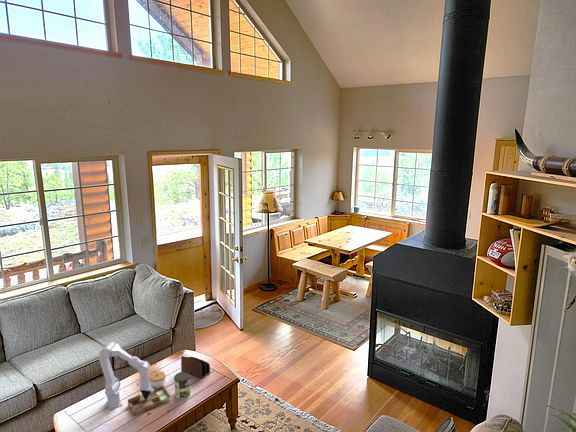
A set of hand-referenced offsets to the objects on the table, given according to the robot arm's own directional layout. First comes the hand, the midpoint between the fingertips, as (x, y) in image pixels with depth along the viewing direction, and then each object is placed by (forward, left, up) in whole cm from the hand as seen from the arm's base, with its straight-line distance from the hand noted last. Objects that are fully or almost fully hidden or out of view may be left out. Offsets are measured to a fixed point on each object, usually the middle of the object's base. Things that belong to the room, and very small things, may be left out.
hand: (146, 398), depth 256 cm
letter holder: (-13, +41, -6) cm, 44 cm away
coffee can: (+4, +23, -6) cm, 24 cm away
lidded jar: (-16, +13, -6) cm, 21 cm away
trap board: (-1, +2, -5) cm, 6 cm away
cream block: (-3, 0, -2) cm, 4 cm away
